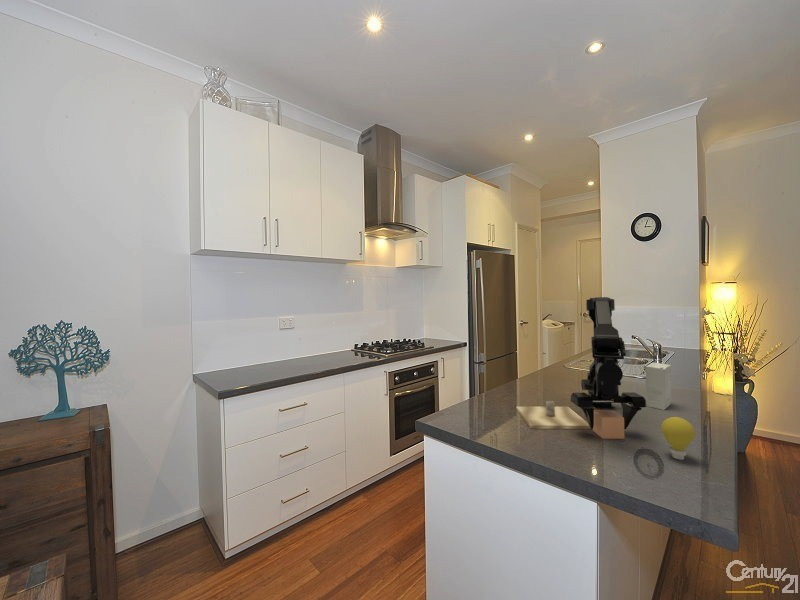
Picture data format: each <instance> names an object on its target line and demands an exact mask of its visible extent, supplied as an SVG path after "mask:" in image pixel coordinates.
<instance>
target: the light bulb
mask: <svg viewBox="0 0 800 600" xmlns="http://www.w3.org/2000/svg"><path fill="white" fill-rule="evenodd" d="M660 430H661V433H662V434H663V436H664V438H665V440H666V441H667V443H669V445H670V448H669V453H671V457H672V458H673V459H676V460H685V457H686V456H687V450H686V448H688V446H690V444H691V443H692V442H693V441H694V439H695V438H696V432H695V431H696V430H695V428H694V427H693V425H692V423H690V422H689V421H688V420H686V419H684V418H682V417H680V416H679V417H678V416H671V417H668V418H665V419H664V420H663V422H662V423H661V427H660Z"/></svg>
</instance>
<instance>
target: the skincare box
mask: <svg viewBox="0 0 800 600" xmlns="http://www.w3.org/2000/svg"><path fill="white" fill-rule="evenodd" d="M645 399H646V407H648V408H654V409H658V410H662V411H663V410H664V411H665V410H666V409H667V408H668V407H670V406H671V404H672V365H671V364H668V363H667V364H666V363H659V362H651V363H649V364H648V365H646V366H645Z"/></svg>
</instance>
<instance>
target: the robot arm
mask: <svg viewBox="0 0 800 600" xmlns="http://www.w3.org/2000/svg"><path fill="white" fill-rule="evenodd" d="M585 306H586V307H585V309H586V312H588V313H587V314H588V317H589V318H590V320H591V321H592V323H593V331H592V332H593V336H591V337H590V340H591V341H590V343H591V357H592V358H593V361H592V363H591V364H590V365H589V367H588V370H589V371H588V372H587V373H586V378H585V379H581V382H580V384H581V385H580V386H581V390H583V391H587V392H588V393H586V392H572V393H571V395H570V402H572V403H573V404H574V405H575V406H577V407H578V408H579V409H581V410H582V412H583V413H584V416H585V418H586V420H587V421H586V422H587V423H588V424H589V426H590V428H591V429H590V430H593V426H594V411H595V409H614V408H615V406H614V405H612V404H620V406H621V409H622V414H621V416H622V417H624V430H627V429H628V427H629V425H630V423H631V422H632V420H633V418H634V417H635V415H636V414H637V413H638V412H639V411H641V410H642V408H647V406H646V397H644V396H642V395H641V394H639V393H637V392H631V391H630V392H622V393H621V394H620V392H619V390H620V388H619V386H622V379H623V378H624V373H623V370H622V368H621V367H620V365H619V360H625V357H626V353H627V352H626V346H625V345H626V344H625V341H624V340H623V338H622V337H620V334H619V330H618V329H617V328H616V327H614V326H613V320H612V316H613V313H612V312H613V311H616V310H615V309H616V308H615V306H616V305H615V299H613V298H610V297H607V296H604V297H603V296H599V297H589V299H586V301H585Z"/></svg>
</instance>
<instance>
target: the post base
mask: <svg viewBox="0 0 800 600" xmlns="http://www.w3.org/2000/svg"><path fill="white" fill-rule="evenodd" d="M515 409H516V412H518V414H520V416H521V417H522V419H523V420H524V422H525V424H527V426H528V427H529V428H530V429H531V430H532V429H533V430H535V429H537V430H538V429H541V430H542V429H549V430H551V429H555V430H567V429H568V430H592V429H591V428H590V426H589V424H588V421H586V420H585V419H584V418H583V417H581V416H580V415H579V414H577V413H576V412H575V411H574V410H573V409H571V408H570V407H569V406H555V401H553V400H546V401H545V406H516V408H515Z"/></svg>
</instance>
